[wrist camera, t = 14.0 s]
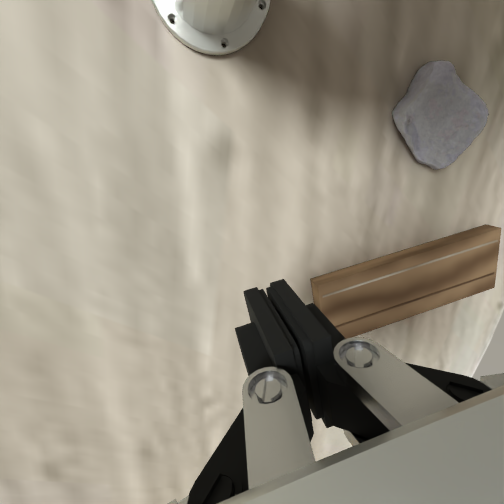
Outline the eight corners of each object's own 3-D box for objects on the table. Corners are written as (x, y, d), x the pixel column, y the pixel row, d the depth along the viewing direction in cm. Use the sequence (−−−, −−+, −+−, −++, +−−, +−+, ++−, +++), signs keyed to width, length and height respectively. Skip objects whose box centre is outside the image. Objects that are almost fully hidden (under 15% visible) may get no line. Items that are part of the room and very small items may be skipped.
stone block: (422, 173, 44) (475, 114, 41) (443, 180, 40) (504, 115, 37) (369, 126, 41) (423, 56, 37) (387, 128, 36) (449, 50, 33)
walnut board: (310, 278, 43) (318, 286, 41) (486, 224, 48) (502, 228, 46) (319, 337, 47) (326, 346, 45) (480, 281, 52) (494, 287, 50)
